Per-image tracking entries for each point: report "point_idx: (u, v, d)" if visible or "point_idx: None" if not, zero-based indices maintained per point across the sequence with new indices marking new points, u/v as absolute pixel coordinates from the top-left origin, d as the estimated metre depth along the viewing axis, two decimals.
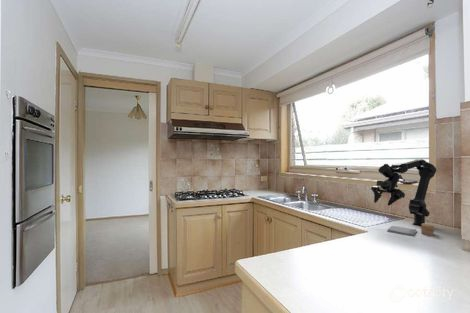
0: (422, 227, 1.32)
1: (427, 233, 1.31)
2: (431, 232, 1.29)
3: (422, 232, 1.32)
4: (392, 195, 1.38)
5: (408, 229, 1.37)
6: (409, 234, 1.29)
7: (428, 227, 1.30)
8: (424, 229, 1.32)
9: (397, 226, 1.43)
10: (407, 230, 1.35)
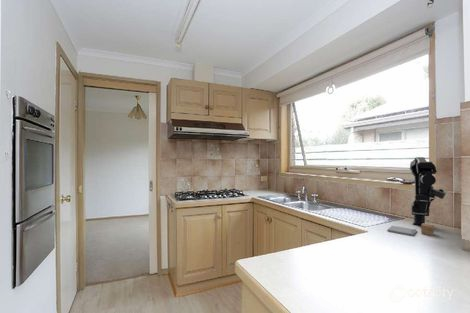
0: (422, 227, 1.32)
1: (427, 233, 1.31)
2: (431, 232, 1.29)
3: (422, 232, 1.32)
4: None
5: (408, 229, 1.37)
6: (409, 234, 1.29)
7: (428, 227, 1.30)
8: (424, 229, 1.32)
9: (397, 226, 1.43)
10: (407, 230, 1.35)
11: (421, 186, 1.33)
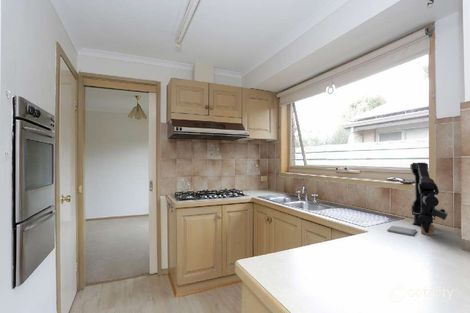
0: (422, 227, 1.32)
1: (427, 233, 1.31)
2: (431, 232, 1.29)
3: (422, 232, 1.32)
4: None
5: (408, 229, 1.37)
6: (409, 234, 1.29)
7: None
8: None
9: (397, 226, 1.43)
10: (407, 230, 1.35)
11: (423, 206, 1.32)
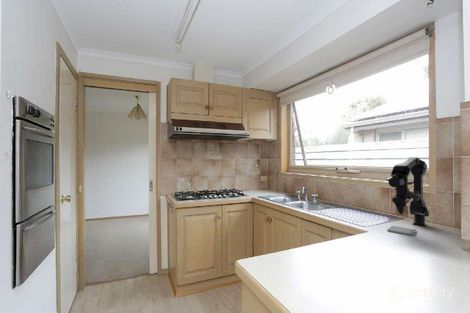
0: None
1: (401, 214, 1.35)
2: (405, 213, 1.34)
3: (397, 213, 1.36)
4: (407, 202, 1.39)
5: (408, 229, 1.37)
6: (409, 234, 1.29)
7: None
8: None
9: (397, 226, 1.43)
10: (407, 230, 1.35)
11: (398, 188, 1.36)
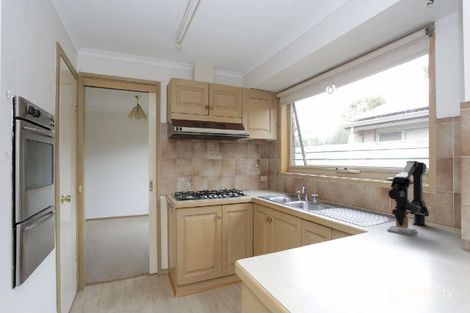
0: None
1: (401, 226, 1.35)
2: (405, 225, 1.34)
3: (397, 225, 1.36)
4: None
5: (408, 229, 1.37)
6: (409, 234, 1.29)
7: None
8: None
9: None
10: (407, 230, 1.35)
11: (398, 200, 1.36)
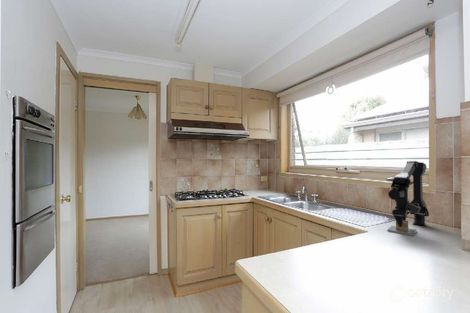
0: (397, 223, 1.36)
1: (401, 229, 1.35)
2: (405, 228, 1.34)
3: (397, 228, 1.36)
4: (407, 214, 1.40)
5: (408, 229, 1.37)
6: (409, 234, 1.29)
7: (402, 223, 1.34)
8: (398, 225, 1.36)
9: None
10: (407, 230, 1.35)
11: (398, 200, 1.36)
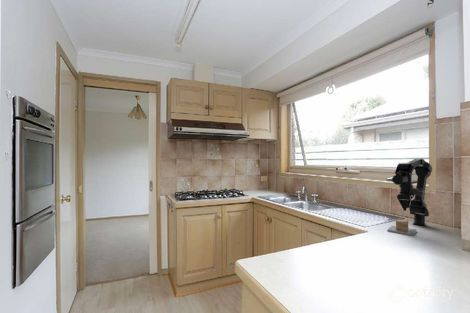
0: (397, 223, 1.36)
1: (401, 229, 1.35)
2: (405, 228, 1.34)
3: (397, 228, 1.36)
4: (411, 198, 1.46)
5: (408, 229, 1.37)
6: (409, 234, 1.29)
7: (402, 223, 1.34)
8: (398, 225, 1.36)
9: None
10: (407, 230, 1.35)
11: (402, 185, 1.42)
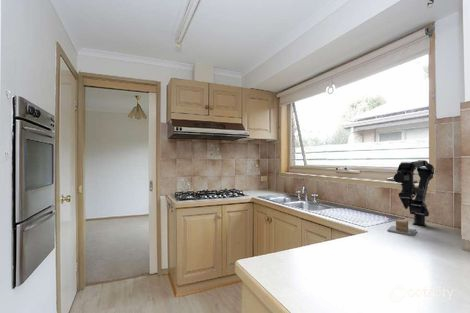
0: (397, 223, 1.36)
1: (401, 229, 1.35)
2: (405, 228, 1.34)
3: (397, 228, 1.36)
4: None
5: (408, 229, 1.37)
6: (409, 234, 1.29)
7: (402, 223, 1.34)
8: (398, 225, 1.36)
9: None
10: (407, 230, 1.35)
11: (404, 184, 1.44)
